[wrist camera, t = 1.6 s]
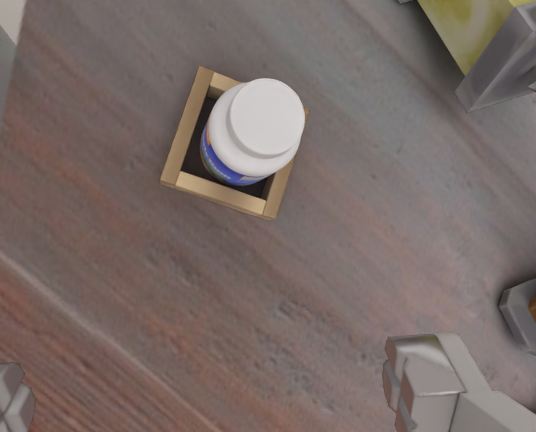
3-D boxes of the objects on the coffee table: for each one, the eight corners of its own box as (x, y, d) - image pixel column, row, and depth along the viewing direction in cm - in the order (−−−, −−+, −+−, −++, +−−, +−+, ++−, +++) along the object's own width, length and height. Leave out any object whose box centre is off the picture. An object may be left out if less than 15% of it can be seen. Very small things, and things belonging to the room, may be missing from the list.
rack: (160, 184, 31) (159, 179, 28) (196, 78, 32) (199, 65, 29) (267, 220, 32) (276, 219, 30) (299, 119, 33) (310, 109, 31)
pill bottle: (187, 126, 31) (197, 79, 22) (258, 103, 33) (296, 49, 23) (215, 198, 32) (236, 183, 22) (284, 173, 33) (332, 148, 23)
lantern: (360, 65, 44) (521, 365, 34) (427, -116, 28) (760, 346, 19) (428, 47, 45) (602, 330, 36) (528, -137, 30) (888, 284, 20)
